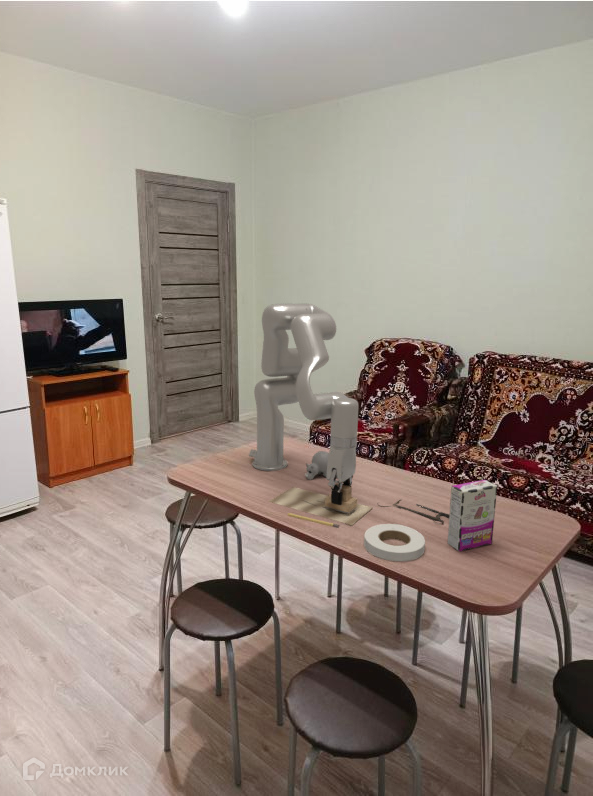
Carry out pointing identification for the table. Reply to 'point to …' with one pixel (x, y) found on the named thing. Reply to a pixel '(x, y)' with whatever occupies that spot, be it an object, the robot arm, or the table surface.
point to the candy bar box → (472, 515)
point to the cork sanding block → (343, 501)
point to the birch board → (318, 505)
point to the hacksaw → (423, 513)
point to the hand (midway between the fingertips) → (341, 499)
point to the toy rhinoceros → (318, 465)
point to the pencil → (313, 520)
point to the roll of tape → (394, 552)
